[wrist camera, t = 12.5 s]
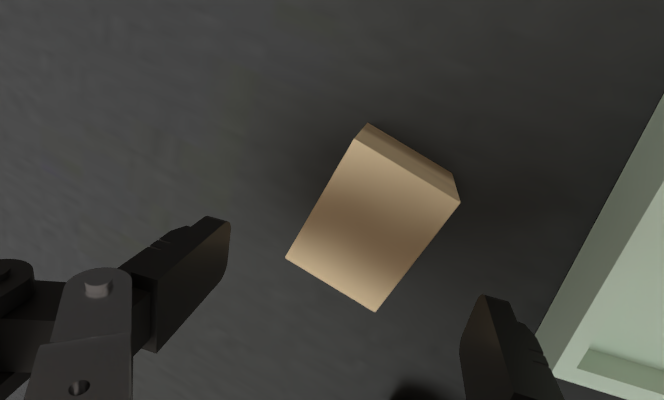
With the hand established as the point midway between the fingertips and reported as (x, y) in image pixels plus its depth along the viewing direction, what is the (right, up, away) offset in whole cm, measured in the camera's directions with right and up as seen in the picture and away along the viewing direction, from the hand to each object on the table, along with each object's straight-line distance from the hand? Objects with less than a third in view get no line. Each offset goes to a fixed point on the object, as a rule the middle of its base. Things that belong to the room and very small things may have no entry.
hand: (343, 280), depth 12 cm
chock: (+2, +3, +7) cm, 7 cm away
